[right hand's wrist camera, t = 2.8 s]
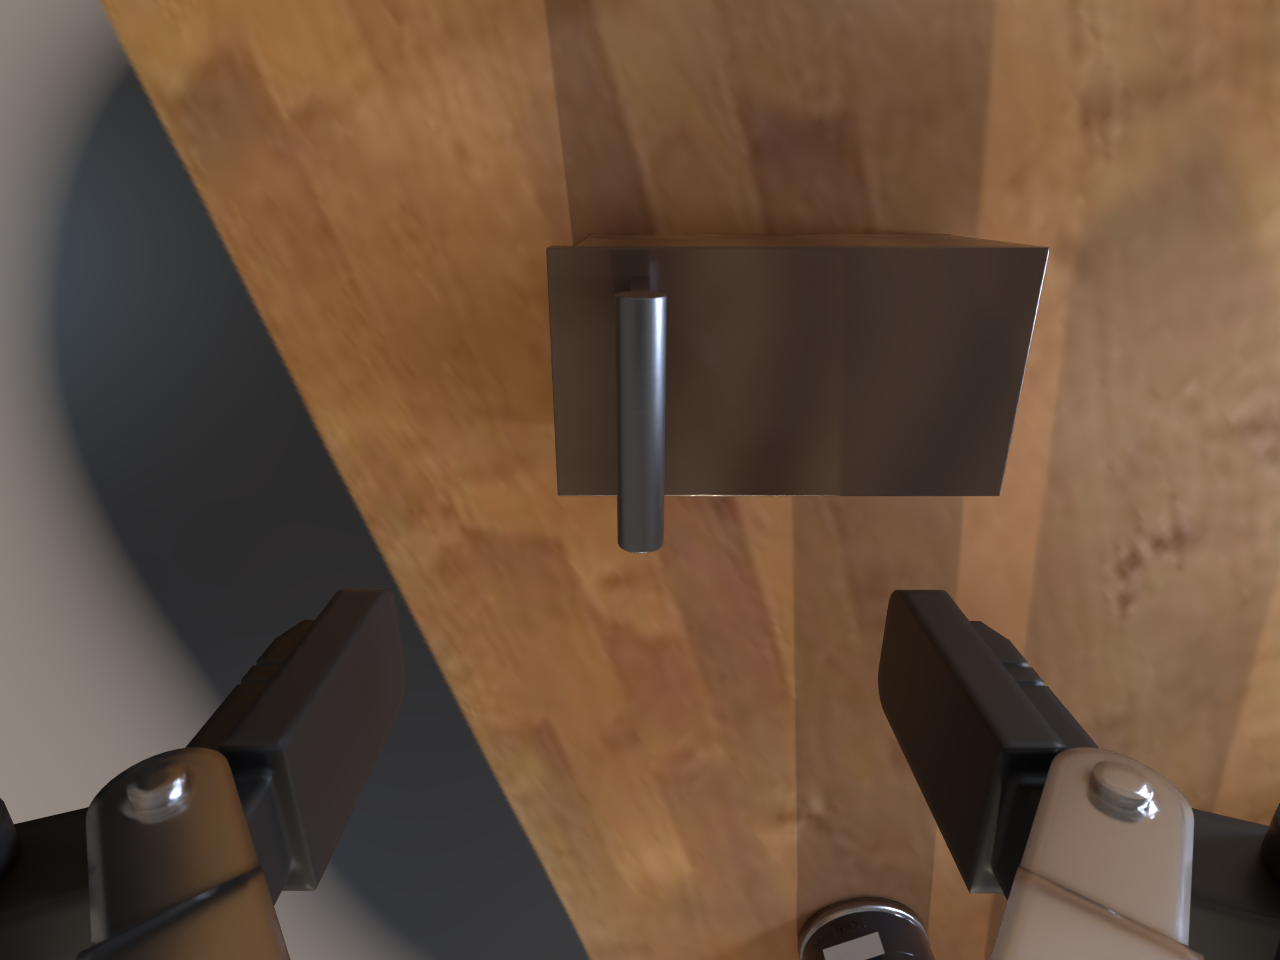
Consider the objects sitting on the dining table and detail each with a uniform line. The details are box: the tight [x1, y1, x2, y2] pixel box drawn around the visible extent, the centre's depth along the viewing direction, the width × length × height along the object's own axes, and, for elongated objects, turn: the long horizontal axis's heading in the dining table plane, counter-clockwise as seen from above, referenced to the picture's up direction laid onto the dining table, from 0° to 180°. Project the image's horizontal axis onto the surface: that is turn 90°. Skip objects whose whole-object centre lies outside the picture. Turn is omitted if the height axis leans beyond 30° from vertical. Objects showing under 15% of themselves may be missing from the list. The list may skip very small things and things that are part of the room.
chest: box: [577, 234, 1033, 246], centre depth 33 cm, size 17×10×9 cm, turn 90°
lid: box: [546, 246, 1049, 553], centre depth 25 cm, size 18×10×8 cm, turn 90°
